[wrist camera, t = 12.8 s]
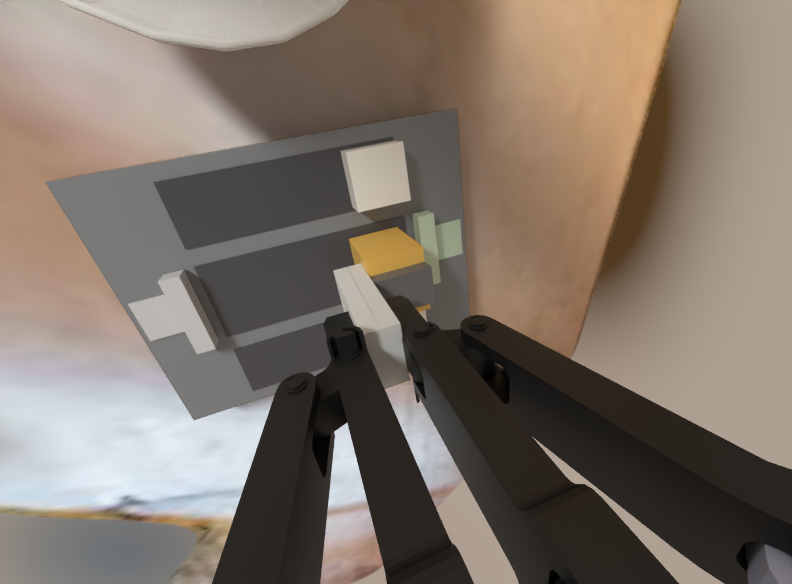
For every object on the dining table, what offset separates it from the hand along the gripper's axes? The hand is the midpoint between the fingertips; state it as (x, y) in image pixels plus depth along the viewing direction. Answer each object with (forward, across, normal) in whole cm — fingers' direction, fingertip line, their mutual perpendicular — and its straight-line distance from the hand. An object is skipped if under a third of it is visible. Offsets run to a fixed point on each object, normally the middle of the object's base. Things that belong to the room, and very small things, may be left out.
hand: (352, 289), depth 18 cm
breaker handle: (+3, +2, 0) cm, 3 cm away
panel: (+6, -2, 0) cm, 6 cm away
